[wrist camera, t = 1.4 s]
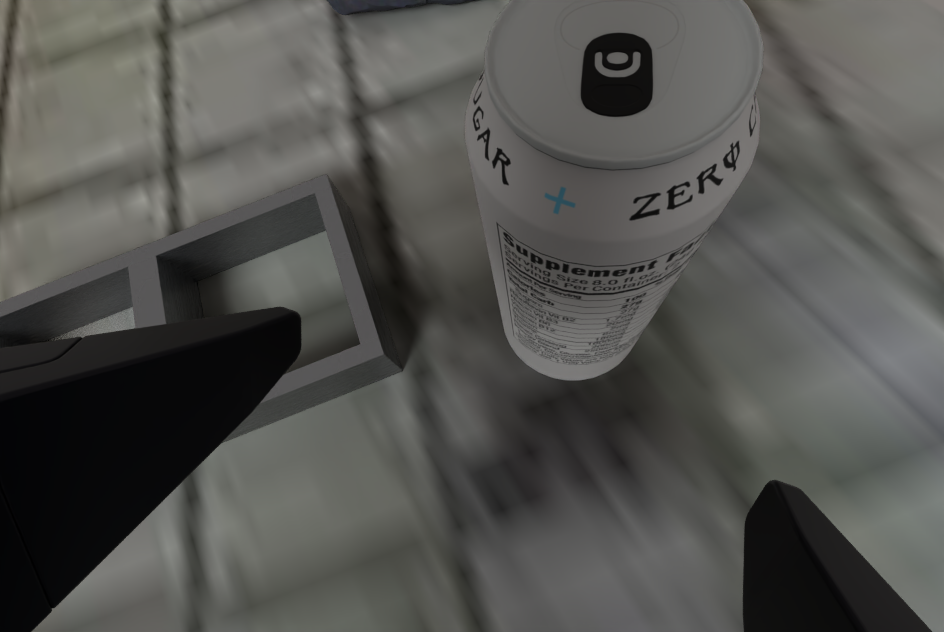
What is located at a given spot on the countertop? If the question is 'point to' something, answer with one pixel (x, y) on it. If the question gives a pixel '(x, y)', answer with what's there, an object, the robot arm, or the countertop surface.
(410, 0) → the dark slate chunk
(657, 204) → the energy drink can
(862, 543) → the countertop surface
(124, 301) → the divided frame
